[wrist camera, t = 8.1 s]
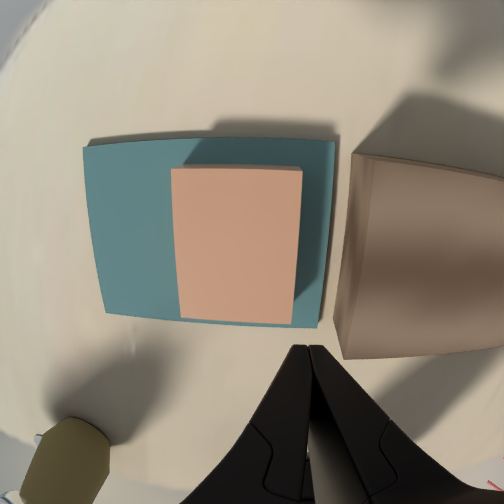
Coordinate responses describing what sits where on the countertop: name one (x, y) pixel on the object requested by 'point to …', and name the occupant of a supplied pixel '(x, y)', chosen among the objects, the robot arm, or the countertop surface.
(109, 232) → the mat
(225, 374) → the countertop surface
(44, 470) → the squeeze bottle
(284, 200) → the tile
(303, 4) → the countertop surface
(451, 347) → the platform
